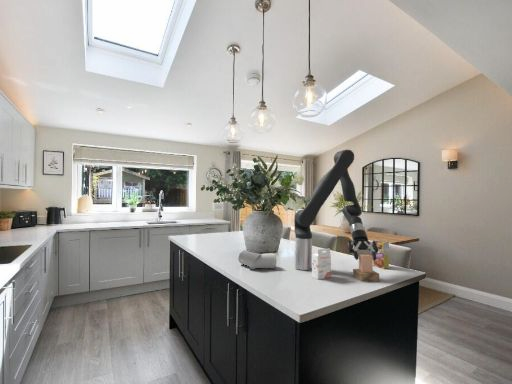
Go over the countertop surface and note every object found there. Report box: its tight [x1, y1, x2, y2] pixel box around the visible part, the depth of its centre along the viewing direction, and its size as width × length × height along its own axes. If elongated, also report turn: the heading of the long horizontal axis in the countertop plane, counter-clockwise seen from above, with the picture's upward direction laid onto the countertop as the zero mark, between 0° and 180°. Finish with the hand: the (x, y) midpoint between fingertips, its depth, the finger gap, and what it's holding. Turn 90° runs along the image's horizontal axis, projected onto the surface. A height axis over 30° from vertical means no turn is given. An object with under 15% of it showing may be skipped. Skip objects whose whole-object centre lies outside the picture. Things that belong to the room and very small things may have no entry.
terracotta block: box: [358, 253, 374, 273], centre depth 132 cm, size 5×5×8 cm
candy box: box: [372, 239, 390, 270], centre depth 154 cm, size 9×4×15 cm, turn 17°
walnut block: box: [352, 268, 380, 282], centre depth 131 cm, size 9×9×4 cm
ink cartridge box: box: [311, 248, 332, 280], centre depth 133 cm, size 9×5×15 cm, turn 117°
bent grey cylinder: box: [238, 249, 277, 270], centre depth 151 cm, size 18×11×20 cm
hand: (366, 259), depth 131 cm, fingers open, 8 cm apart
